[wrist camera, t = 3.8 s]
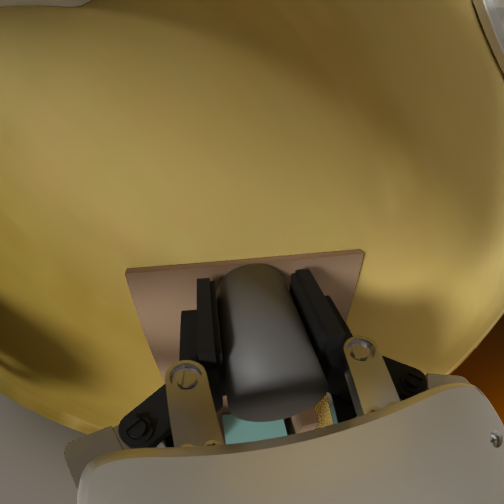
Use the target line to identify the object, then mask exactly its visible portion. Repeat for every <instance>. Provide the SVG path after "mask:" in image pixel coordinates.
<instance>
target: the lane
mask: <svg viewBox="0 0 504 504" xmlns="http://www.w3.org/2000/svg"><path fill="white" fill-rule="evenodd" d="M363 256H364V253H363V252H362V251H361V249H357V250H346V251H335V252H324V253H312V254H301V255H289V256H278V257H266V258H254V259H242V260H230V261H217V262H205V263H193V264H180V265H167V266H154V267H141V268H128V269H126V272H125V276H126V279H127V283H128V286H129V289H130V293H131V296H132V299H133V302H134V305H135V308H136V311H137V314H138V317H139V320H140V322H141V325H142V328H143V331H144V333H145V336H146V339H147V341H148V344H149V346H150V349H151V352H152V354H153V356H154V359H155V361H156V364H157V366H158V368H159V371H160V373H161V375H162V378H163V380H164V382H165V374H166V372H167V370H168V368H169V367H170V366H171V365H172V364H174V363H176V362H178V361H179V351H180V324H181V311H184V310H197V279H199V278H210V281H215V288H216V289H217V286H218V284H219V282H220V281H221V279H222V278H223V277H224V276H225V275H226V274H227V273H229V272H230V271H232V270H233V269H235V268H237V267H240V266H243V265H248V264H263V265H267V266H270V267H272V268H274V269H276V270H277V271H278V272H279V273H280V274H281V275H282V276H283V278H284V280H285V282H286V284H287V287H288V289H289V290H290V280H291V274H292V273H295V271H296V270H298V269H309V270H310V271H311V273H312V275H313V276H314V278H315V280H316V282H317V283H318V285H319V287H320V289H321V290H322V292H323V294H324V296H325V295H328V296H330V297H331V299H332V300H333V302H334V304H335V306H336V307H337V309H338V311H339V313H340V314H341V316H342V318H343V320H344V321H345V322H346V319H347V316H348V312H349V309H350V306H351V302H352V299H353V295H354V291H355V288H356V284H357V280H358V276H359V272H360V268H361V264H362V260H363ZM314 407H315V405H314V406H313V407H311V408H309V409H308V410H306V411H304V412H302V413H300V414H297V415H295V416H292V417H289V418H285V419H283V420H284V424H285V428H286V432H287V435H292V434H297V433H302V432H306V431H310V430H315V428H316V426H317V425H318V423H319V421H318V418H317V415H316V413H315V410H314ZM226 414H231V413H230V411H229V409H228V403H227V396H223V407H222V408H221V409H220V410H219V411H218V412H217V413H216V415H217V419H218V423H219V426H220V430H221V434H222V437H223V441H224V444H226V441H225V434H224V426H223V418H222V415H226Z"/></svg>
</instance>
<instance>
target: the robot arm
mask: <svg viewBox="0 0 504 504" xmlns="http://www.w3.org/2000/svg"><path fill="white" fill-rule="evenodd" d="M473 3H474V6H475V8H476V11H477V14H478V17H479V20H480V22H481V24H482V27H483V29H484V32H485V35H486V37H487V39H488V41H489V44H490V46H491V48H492V51H493V53H494V55H495V57H496V59H497V61H498V63H499V66H500V68H501V70H502V71H503V73H504V0H473ZM289 291H290V294H291V296H292V298H293V301H294V303H295V306H296V308H297V310H298V313H299V315H300V317H301V320H302V322H303V324H304V327H305V329H306V332H307V334H308V336H309V339H310V341H311V344H312V346H313V348H314V351H315V353H316V356H317V358H318V360H319V363H320V365H321V368H322V370H323V373H324V375H325V378H326V380H327V382H328V390H327V398H328V403H329V407H330V411H331V416H332V420H333V425H330V426H326V427H323V428H319V429H315V430H310V431H306V432H302V433H297V434H292V435H288V436H282V437H277V438H271V439H265V440H259V441H252V442H244V443H235V444H224V441H223V437H222V434H221V430H220V426H219V423H218V419H217V415H216V413H217V412H218V411H219V410H220V409H221V408H222V407H223V396H227V395H226V387H225V379H224V374H225V372H224V364H223V355H222V347H221V338H220V328H219V318H218V308H217V298H216V288H215V281H210V278H199V279H197V310H184V311H181V324H180V351H179V361H178V362H176V363H174V364H172V365H171V366H170V367H169V368H168V370H167V372H166V374H165V384H164V385H163V386H162V387H161V388H159V389H158V390H157V391H156V392H155V393H153V394H152V395H151V396H150V397H148V398H147V399H146V400H145V401H144V402H142V403H141V404H140V405H139V406H137V407H136V408H135V409H134V410H132V411H131V412H130V413H129V414H127V415H126V416H125V417H124V418H123V419H122V420H121V422H120V424H119V425H118V426H115V427H112V426H109V427H106V428H104V429H102V430H99V431H96V432H94V433H91V434H89V435H86V436H83V437H81V438H78V439H75V440H72V441H71V442H69V443H68V444H67V445H66V447H65V451H64V455H65V459H66V462H67V465H68V468H69V470H70V473H71V475H72V477H73V480H74V482H75V485H76V487H77V489H78V497H77V504H504V426H503V423H502V422H501V420H500V418H499V416H498V415H497V413H496V411H495V410H494V408H493V406H492V405H491V403H490V402H489V400H488V399H487V398H486V397H485V395H484V394H483V393H482V392H481V391H480V390H479V389H478V388H477V387H475V386H474V385H471V384H469V382H468V381H467V380H466V379H465V378H464V377H461V376H452V375H441V374H430V373H427V375H426V376H425V375H424V374H423V373H422V372H421V371H420V370H418V369H416V368H413V367H410V366H408V365H405V364H402V363H400V362H397V361H394V360H392V359H389V358H387V357H384V356H382V355H381V353H380V350H379V348H378V346H377V345H376V343H375V342H374V341H372V340H371V339H369V338H367V337H363V336H354V337H353V336H352V334H351V332H350V330H349V328H348V327H347V325H346V323H345V321H344V320H343V318H342V316H341V314H340V313H339V311H338V309H337V307H336V306H335V304H334V302H333V300H332V299H331V297H330V296H328V295H325V296H324V294H323V292H322V290H321V289H320V287H319V285H318V283H317V282H316V280H315V278H314V276H313V275H312V273H311V271H310V270H309V269H298V270H296V271H295V273H292V274H291V280H290V290H289Z"/></svg>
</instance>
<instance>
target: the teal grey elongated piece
mask: <svg viewBox="0 0 504 504" xmlns="http://www.w3.org/2000/svg"><path fill="white" fill-rule="evenodd" d="M216 298H217V308H218V318H219V328H220V338H221V347H222V355H223V364H224V372H225V374H224V379H225V387H226V395H227V403H228V409H229V411H230V413H231V414H226V415H222V418H223V426H224V434H225V441H226V444H235V443H244V442H252V441H259V440H265V439H271V438H277V437H282V436H288V435H287V432H286V428H285V424H284V420H283V419H285V418H289V417H292V416H295V415H297V414H300V413H302V412H304V411H306V410H308V409H309V408H311V407H313V406H314V405H316V404H317V403H318V402H319V401H320V400H321V399H322V398H323V397H324V396H325V394H326V393H327V390H328V382H327V380H326V378H325V375H324V373H323V370H322V368H321V365H320V363H319V360H318V358H317V356H316V353H315V351H314V348H313V346H312V344H311V341H310V339H309V336H308V334H307V332H306V329H305V327H304V324H303V322H302V320H301V317H300V315H299V313H298V310H297V308H296V306H295V303H294V301H293V298H292V296H291V294H290V291H289V289H288V287H287V284H286V282H285V280H284V278H283V276H282V275H281V274H280V273H279V272H278V271H277V270H276V269H274V268H272V267H270V266H267V265H263V264H248V265H243V266H240V267H237V268H235V269H233V270H232V271H230V272H229V273H227V274H226V275H225V276H224V277H223V278H222V279H221V281H220V282H219V284H218V286H217V289H216Z"/></svg>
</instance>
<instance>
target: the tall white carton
mask: <svg viewBox="0 0 504 504" xmlns="http://www.w3.org/2000/svg"><path fill="white" fill-rule="evenodd" d="M89 1H91V0H0V7H2V6H17V5H47V6H64V7H77V6H82V5H84V4H85V3H87V2H89Z"/></svg>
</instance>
